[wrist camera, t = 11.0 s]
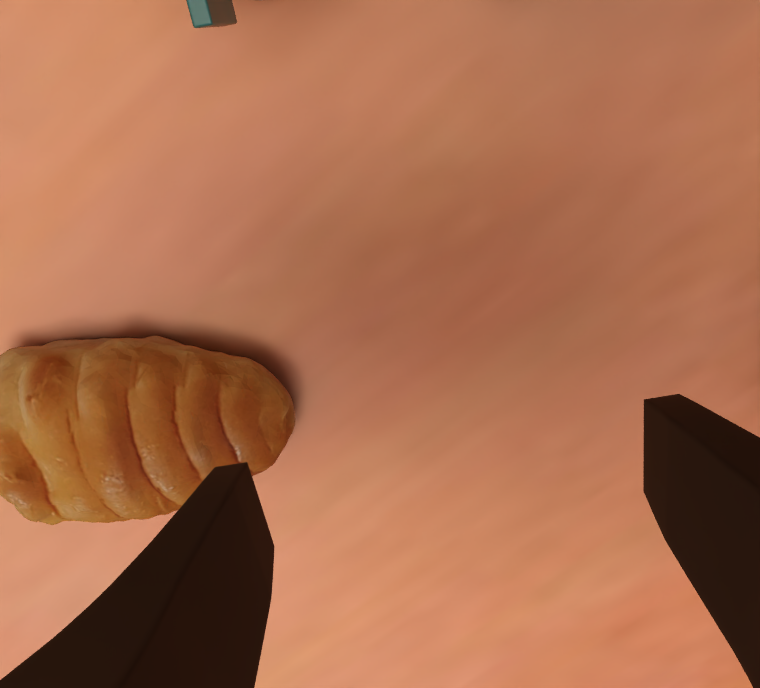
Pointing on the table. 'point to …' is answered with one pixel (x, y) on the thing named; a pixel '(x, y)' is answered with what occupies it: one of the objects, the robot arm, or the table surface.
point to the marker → (211, 13)
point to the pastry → (130, 425)
